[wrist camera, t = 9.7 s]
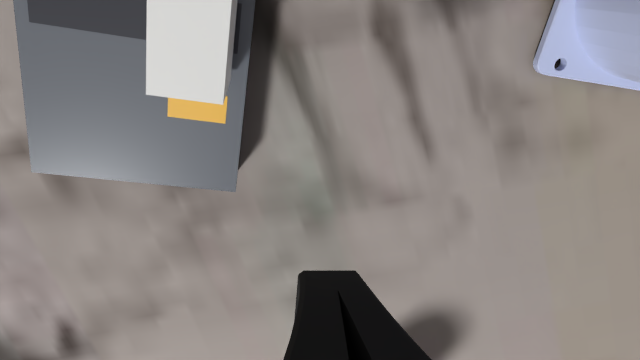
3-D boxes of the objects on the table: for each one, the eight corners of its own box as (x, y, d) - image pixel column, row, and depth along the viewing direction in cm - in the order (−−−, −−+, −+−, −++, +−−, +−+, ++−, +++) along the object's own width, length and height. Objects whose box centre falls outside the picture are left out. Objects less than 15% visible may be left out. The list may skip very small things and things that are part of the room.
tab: (239, -24, 13) (233, -24, 11) (230, 79, 15) (222, 104, 12) (172, -37, 13) (147, -40, 10) (168, 70, 14) (145, 94, 12)
